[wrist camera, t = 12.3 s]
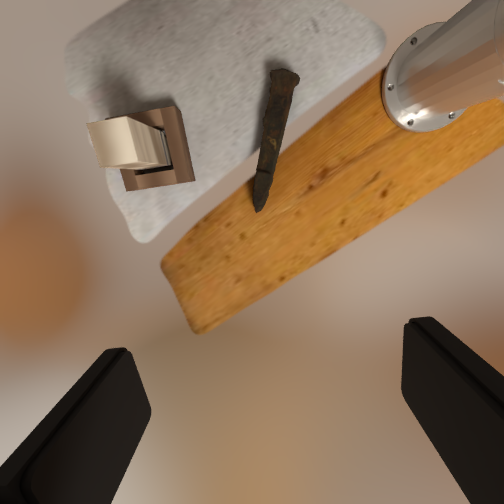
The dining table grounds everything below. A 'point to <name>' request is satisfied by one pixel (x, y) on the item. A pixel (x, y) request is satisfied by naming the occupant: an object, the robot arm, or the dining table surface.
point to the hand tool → (273, 132)
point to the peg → (129, 144)
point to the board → (178, 148)
